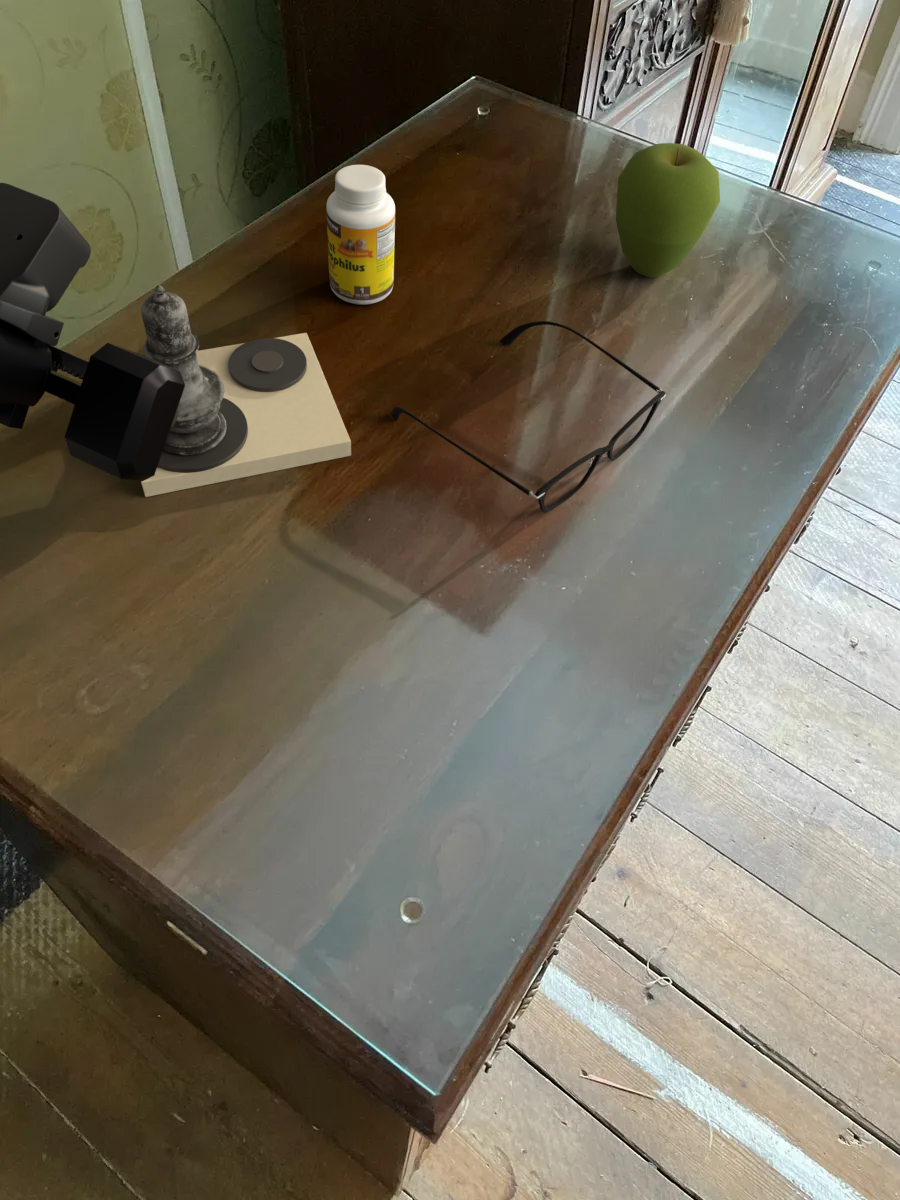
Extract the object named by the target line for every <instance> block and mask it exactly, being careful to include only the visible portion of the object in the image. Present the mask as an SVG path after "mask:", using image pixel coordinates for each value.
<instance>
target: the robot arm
mask: <svg viewBox="0 0 900 1200" xmlns="http://www.w3.org/2000/svg"><path fill="white" fill-rule="evenodd" d="M91 254H92V248H91V245H90V244H89V242H88V241H87V240H86V238H85V237H84V236H83V234H82V233H81V232H80V231H79V229H78V228H77V227H76V226H75V225H74V224H73V222H72V221H71V220H70V219H69V217H68V216H67V215H66V214H65V212H64V211H63V210H62V209H61V207H60V206H59V205H58V204H57V203H56V202H54V201H53V200H51V199H48V198H45V197H43V196H40V195H38V194H35V193H33V192H30V191H27V190H26V189H22V188H20V187H17V186H15V185H12V184H9V183H7V182H0V424H1V425H2V426H5V427H7V428H11V429H17V430H23V429H24V425H25V421H26V418H27V416H28V413H29V409H30V407H34V406H37V404H38V403H39V402H40V401H41V399H42V397H44V395H45V394H46V393H48V394H50V395H52V396H55V397H56V398H58V399H61V400H63V401H66V402H68V403H70V404H72V405H74V406H73V408H72V412H71V415H70V417H69V421H68V424H67V427H66V430H65V432H64V433H65V434H64V436H63V438H64V441H65V444H66V446H67V449H68V452H69V456H71V457H73V458H74V459H78V460H80V461H81V462H84V463H86V464H88V465H90V466H93V467H94V468H96V469H98V470H101V471H103V472H105V473H107V474H109V475H111V476H113V477H116V478H118V479H120V480H123V481H125V480H126V481H133V482H141V481H144V480H146V479H148V478H150V477H152V476H154V475H155V472H156V469H157V466H158V463H159V460H160V457H161V454H162V452H163V449H164V446H165V443H166V440H167V437H168V434H169V431H170V428H171V427H173V426H174V425H175V423H176V420H177V417H178V414H179V408H178V405H179V402H180V399H181V396H182V394H183V391H184V388H185V383H184V380H183V377H182V375H181V372H180V371H178V370H176V369H174V368H171V367H169V366H167V365H164V364H162V363H160V362H157V361H155V360H153V359H150V358H148V357H147V356H146V355H143V354H141V353H138V352H135V351H133V350H130V349H128V348H125V347H123V346H120V345H117V344H113V343H110V342H106V343H105V344H104V345H102V346H101V347H100V348H99V349H97V350H96V351H95V352H94V353H93V354H92V355H90V357H89V359H88V360H87V359H84V358H82V357H80V356H77V355H75V354H73V353H71V352H69V351H66V350H64V349H62V348H59V347H57V345H58V344H59V340H60V338H61V334H62V331H63V328H64V325H65V323H64V322H63V321H60V320H59V319H55V318H53V317H51V316H48V315H47V313H48V312H50V311H52V310H53V309H54V308H55V307H56V306H57V305H58V303H59V302H60V300H61V299H62V297H63V296H64V294H65V292H66V291H67V289H68V288H69V286H70V284H71V283H72V282H73V280H74V278H75V276H76V275H77V273H78V272H79V270H80V269H82V268H84V267H85V266H86V264H87V263H88V261H89V259H90V258H91ZM59 370H60V371H61V372H64V373H66V374H68V375H72V377H75V378H78V380H82V381H81V382H79V381H77V380H75V379H74V378H70V377H69V376H66V375H64V374H61V373H59V372H58V371H59ZM45 392H46V393H45Z"/></svg>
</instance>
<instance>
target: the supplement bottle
mask: <svg viewBox="0 0 900 1200" xmlns="http://www.w3.org/2000/svg"><path fill="white" fill-rule="evenodd" d="M334 182H335V185H334V191H333V192H331V194H330V195H329V196H328V198H327V200H326V206H325V208H326V211H325V212H326V231H327V253H328V255H327V257H328V278H329V286H330V289H331V291H332V292H333V293H334V295H335V296H336V297H337V298H339V299H341V300H342V301H344V302H346V303H350V304H354V305H361V306H363V305H372V304H376V303H379V302H381V301H383V300H385V299H386V298H387V297H388V296H389V295H390V294H391V293H392V291H393V288H394V283H395V281H394V280H395V244H396V243H395V240H396V239H395V237H396V235H395V234H396V205H395V202H394V199H393V198H392V196H391V195H390V194H389V192H387V188H386V176H385V174H384V173H383V172H382V171H381V170H380V169H378V168H377V167H374V166H371V165H367V164H351V165H347V166H344V167H342V168H340V169H339V170H338V171H337V172H336V174H335V177H334Z"/></svg>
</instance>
